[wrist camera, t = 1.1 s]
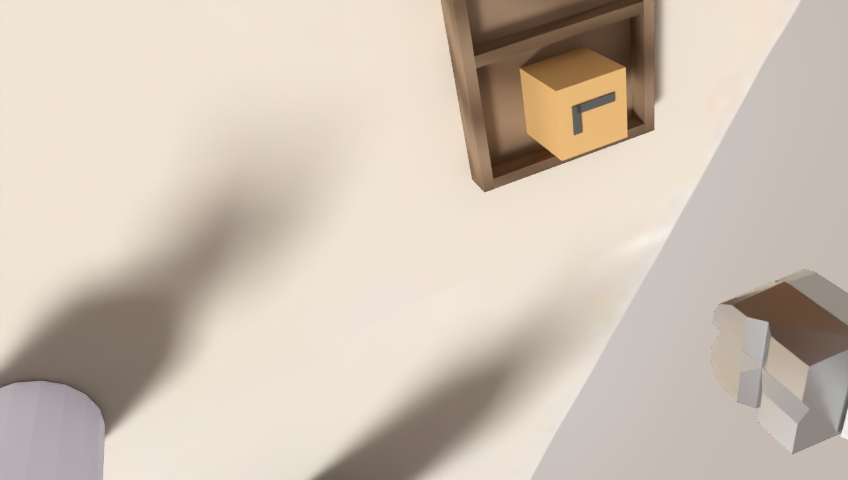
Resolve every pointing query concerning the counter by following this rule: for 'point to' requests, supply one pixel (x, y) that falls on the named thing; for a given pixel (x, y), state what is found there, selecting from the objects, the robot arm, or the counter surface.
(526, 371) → the counter surface
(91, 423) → the soap bottle
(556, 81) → the letter cube
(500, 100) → the organiser
